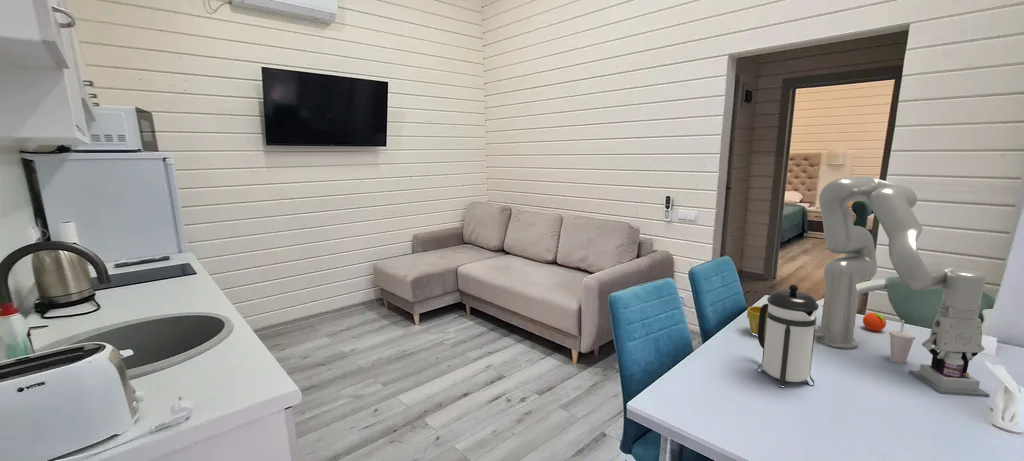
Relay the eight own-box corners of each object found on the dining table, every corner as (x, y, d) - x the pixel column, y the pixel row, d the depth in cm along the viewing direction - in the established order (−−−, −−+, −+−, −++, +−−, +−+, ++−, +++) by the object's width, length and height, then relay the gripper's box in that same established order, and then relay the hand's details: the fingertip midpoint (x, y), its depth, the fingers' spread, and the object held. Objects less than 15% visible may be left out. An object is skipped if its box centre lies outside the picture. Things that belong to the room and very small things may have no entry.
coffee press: (818, 375, 131) (829, 283, 126) (809, 396, 120) (820, 296, 115) (755, 358, 143) (763, 273, 138) (742, 376, 132) (750, 284, 126)
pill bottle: (943, 384, 123) (948, 353, 121) (929, 375, 128) (934, 345, 126) (965, 386, 122) (971, 355, 120) (950, 376, 127) (955, 347, 125)
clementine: (892, 334, 159) (895, 317, 158) (873, 335, 159) (876, 317, 158) (874, 326, 167) (877, 309, 166) (857, 326, 167) (859, 309, 166)
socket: (939, 393, 120) (942, 380, 120) (908, 372, 132) (910, 360, 131) (989, 397, 118) (992, 383, 117) (953, 375, 130) (955, 362, 129)
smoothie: (904, 357, 141) (911, 318, 139) (915, 366, 135) (922, 325, 133) (881, 355, 143) (887, 316, 141) (891, 364, 137) (897, 323, 135)
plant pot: (757, 327, 168) (759, 304, 166) (783, 337, 159) (785, 312, 157) (739, 332, 164) (741, 308, 162) (764, 342, 155) (766, 317, 153)
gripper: (935, 315, 119) (925, 374, 122) (1007, 318, 116) (994, 378, 119) (915, 306, 126) (906, 362, 130) (982, 308, 123) (971, 366, 127)
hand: (948, 369), depth 124 cm, fingers closed on pill bottle, 5 cm apart
